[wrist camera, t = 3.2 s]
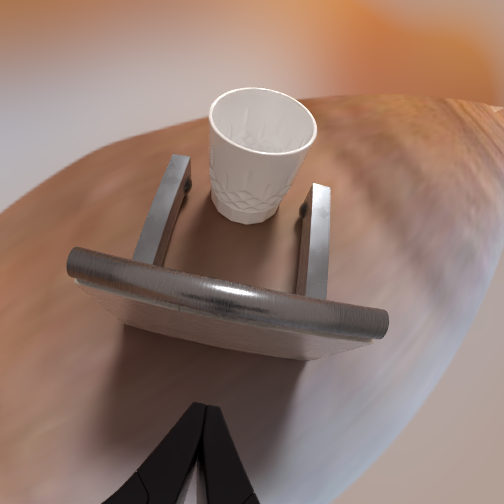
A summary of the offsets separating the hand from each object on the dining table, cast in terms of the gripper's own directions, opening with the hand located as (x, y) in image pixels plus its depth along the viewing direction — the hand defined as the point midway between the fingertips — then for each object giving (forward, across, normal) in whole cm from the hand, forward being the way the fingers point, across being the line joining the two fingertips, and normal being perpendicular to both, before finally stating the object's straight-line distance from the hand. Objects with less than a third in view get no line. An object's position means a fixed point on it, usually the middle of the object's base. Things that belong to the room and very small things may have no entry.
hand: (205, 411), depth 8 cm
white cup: (+23, 0, -3) cm, 23 cm away
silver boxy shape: (+17, 0, +2) cm, 17 cm away
